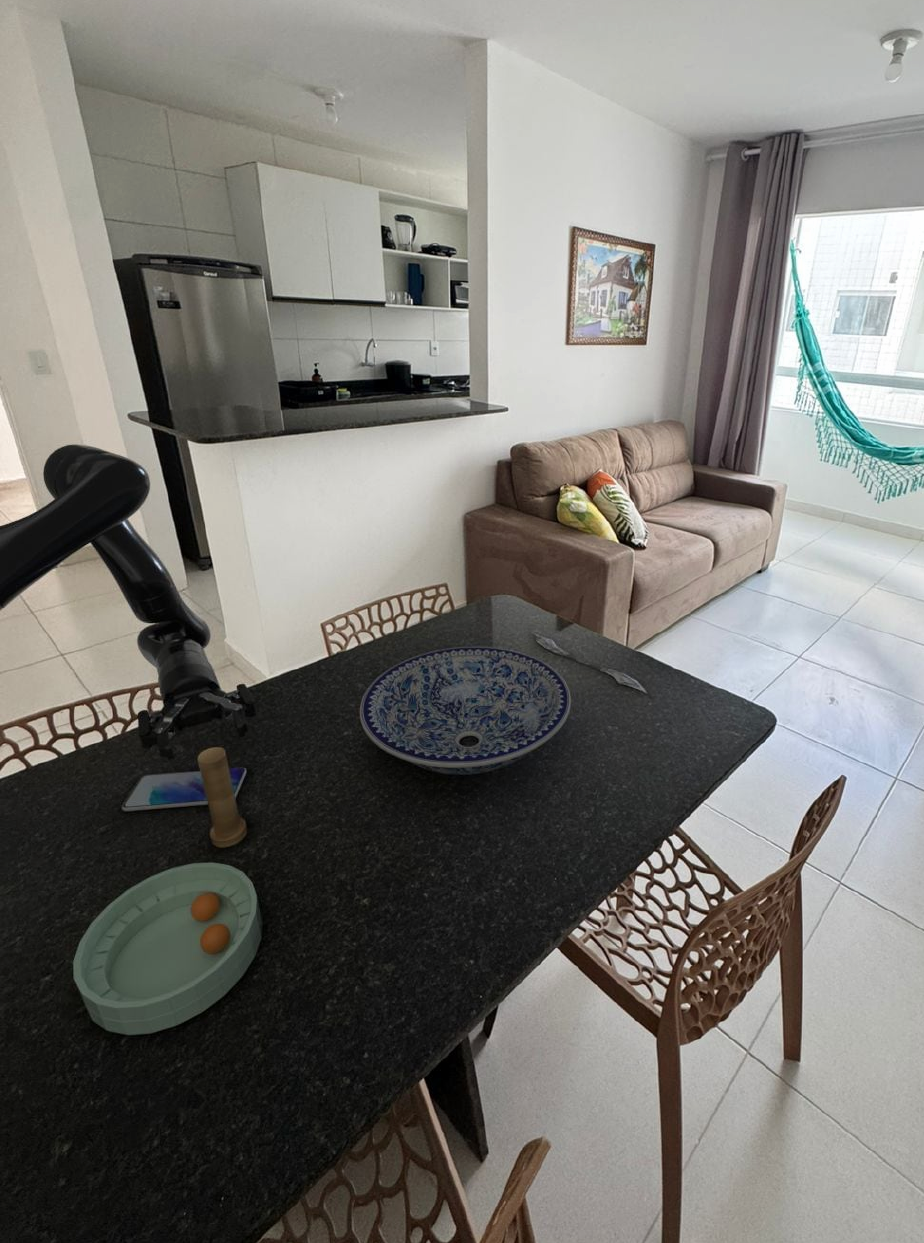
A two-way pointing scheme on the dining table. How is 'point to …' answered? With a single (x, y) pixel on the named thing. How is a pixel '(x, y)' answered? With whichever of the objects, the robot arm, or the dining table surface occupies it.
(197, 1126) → the dining table surface
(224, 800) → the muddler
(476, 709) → the ceramic bowl
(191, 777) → the smartphone
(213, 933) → the bead
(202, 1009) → the pale green shallow dish
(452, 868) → the dining table surface
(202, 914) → the bead
